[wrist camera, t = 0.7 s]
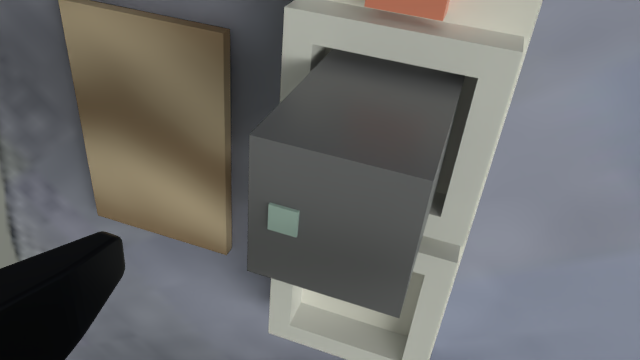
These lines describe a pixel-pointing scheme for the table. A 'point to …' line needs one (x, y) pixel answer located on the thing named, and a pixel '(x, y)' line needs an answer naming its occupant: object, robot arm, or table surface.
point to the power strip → (459, 162)
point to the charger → (349, 177)
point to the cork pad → (154, 119)
